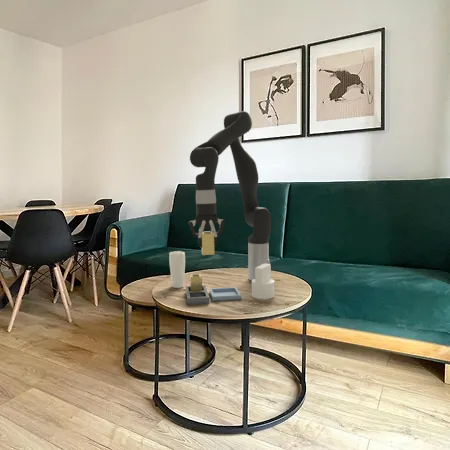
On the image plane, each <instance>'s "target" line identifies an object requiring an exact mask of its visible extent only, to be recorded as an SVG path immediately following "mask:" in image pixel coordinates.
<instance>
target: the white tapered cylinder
mask: <svg viewBox="0 0 450 450" xmlns="http://www.w3.org/2000/svg"><path fill="white" fill-rule="evenodd" d="M168 253H169V254H168V255H169V257H168V259H169V263H168V264H169V270H170V278H171V281H170V282H171V287H172V288H174V289H181V288H184V286H185V272H186V271H185V270H186V254H185V253H186V252H185V251H181V250H177V251H176V250H175V251H170V252H168Z"/></svg>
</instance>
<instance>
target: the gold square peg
mask: <svg viewBox="0 0 450 450" xmlns="http://www.w3.org/2000/svg"><path fill="white" fill-rule="evenodd" d="M201 238H202V248H201V254H202V256H209V255H210V256H211V255H216V254H215V247H214V233H213V232H212V231H211V230H208V231H207V230H206V231H205V230H203V232H202V236H201Z"/></svg>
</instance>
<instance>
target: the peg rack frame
mask: <svg viewBox="0 0 450 450" xmlns="http://www.w3.org/2000/svg"><path fill="white" fill-rule="evenodd" d="M185 295H186V302H187V306H195V305H210V294H209V293H208V290H207V287H206V285H205V284H204V285H202V291H190V285H188V286H185Z"/></svg>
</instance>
